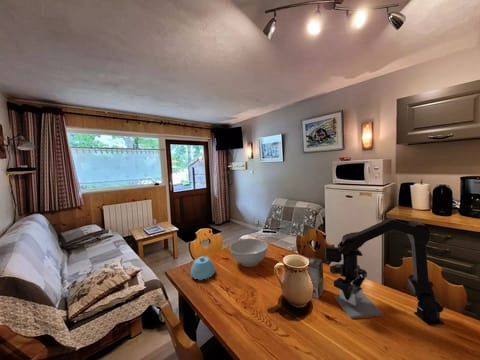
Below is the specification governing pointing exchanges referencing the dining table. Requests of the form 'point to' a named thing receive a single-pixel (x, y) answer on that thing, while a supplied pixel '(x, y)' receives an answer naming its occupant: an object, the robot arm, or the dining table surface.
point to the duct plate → (359, 308)
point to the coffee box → (316, 276)
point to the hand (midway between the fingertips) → (351, 296)
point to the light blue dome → (202, 268)
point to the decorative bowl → (249, 251)
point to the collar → (353, 295)
